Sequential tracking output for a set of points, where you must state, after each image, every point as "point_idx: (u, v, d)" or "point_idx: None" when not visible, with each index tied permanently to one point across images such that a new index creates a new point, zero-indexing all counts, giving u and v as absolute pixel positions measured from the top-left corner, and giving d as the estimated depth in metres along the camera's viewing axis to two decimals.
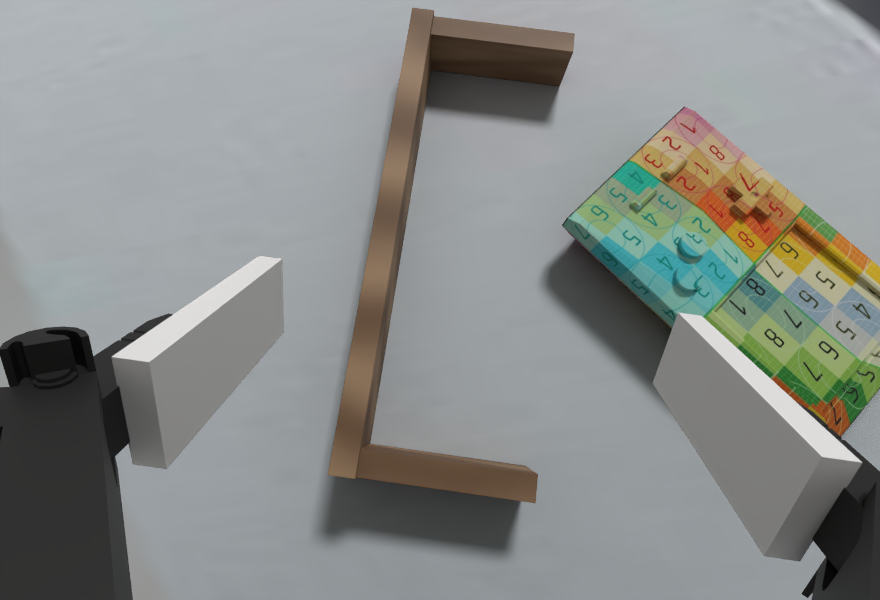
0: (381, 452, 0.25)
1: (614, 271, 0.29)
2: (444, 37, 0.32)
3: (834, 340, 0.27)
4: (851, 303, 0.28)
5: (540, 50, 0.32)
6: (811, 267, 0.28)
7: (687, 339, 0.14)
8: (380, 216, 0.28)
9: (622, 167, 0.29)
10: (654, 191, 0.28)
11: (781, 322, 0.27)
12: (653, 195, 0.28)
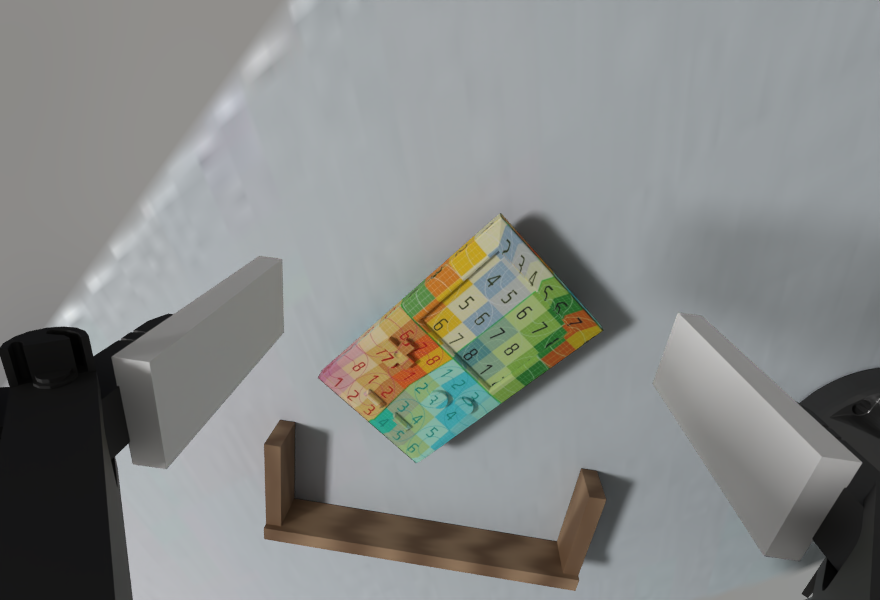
0: (565, 564, 0.44)
1: None
2: (281, 517, 0.44)
3: (517, 307, 0.34)
4: (486, 287, 0.33)
5: (281, 463, 0.42)
6: (455, 311, 0.34)
7: (687, 339, 0.14)
8: (420, 562, 0.44)
9: (374, 426, 0.39)
10: (396, 417, 0.38)
11: (499, 342, 0.35)
12: (398, 416, 0.38)
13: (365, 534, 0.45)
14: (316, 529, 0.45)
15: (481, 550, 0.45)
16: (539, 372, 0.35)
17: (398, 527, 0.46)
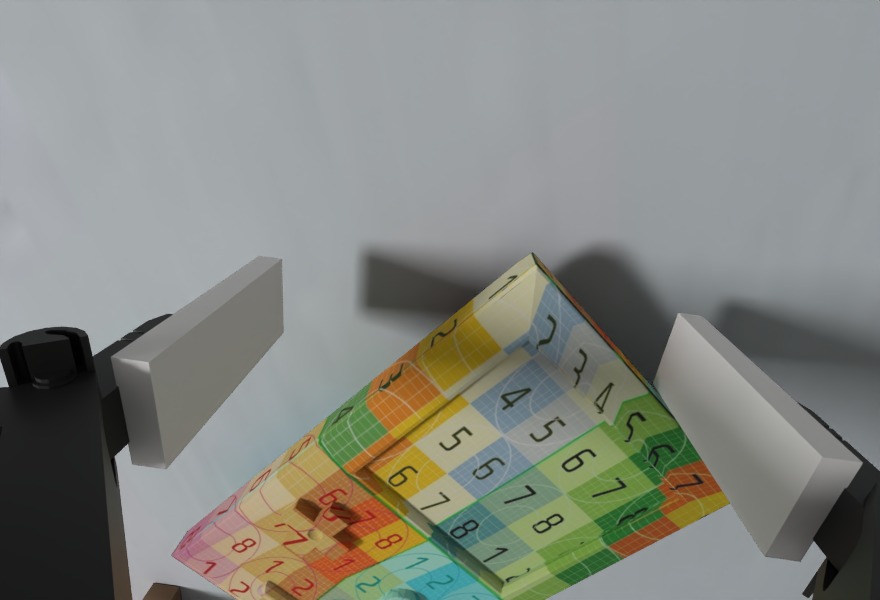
0: None
1: None
2: None
3: (563, 450, 0.16)
4: (500, 410, 0.15)
5: None
6: (432, 453, 0.16)
7: (687, 339, 0.14)
8: None
9: None
10: None
11: (524, 510, 0.17)
12: None
13: None
14: None
15: None
16: (602, 565, 0.18)
17: None
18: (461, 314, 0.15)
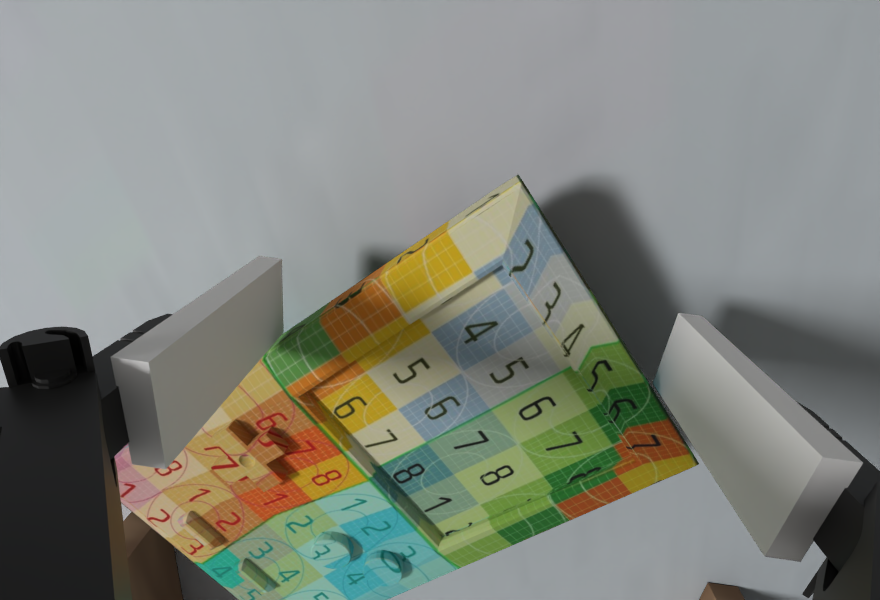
0: None
1: None
2: None
3: (523, 395, 0.15)
4: (462, 343, 0.14)
5: None
6: (385, 384, 0.15)
7: (687, 339, 0.14)
8: None
9: (206, 572, 0.20)
10: (243, 570, 0.18)
11: (474, 458, 0.16)
12: (249, 566, 0.19)
13: None
14: None
15: None
16: (547, 525, 0.17)
17: None
18: (434, 234, 0.14)
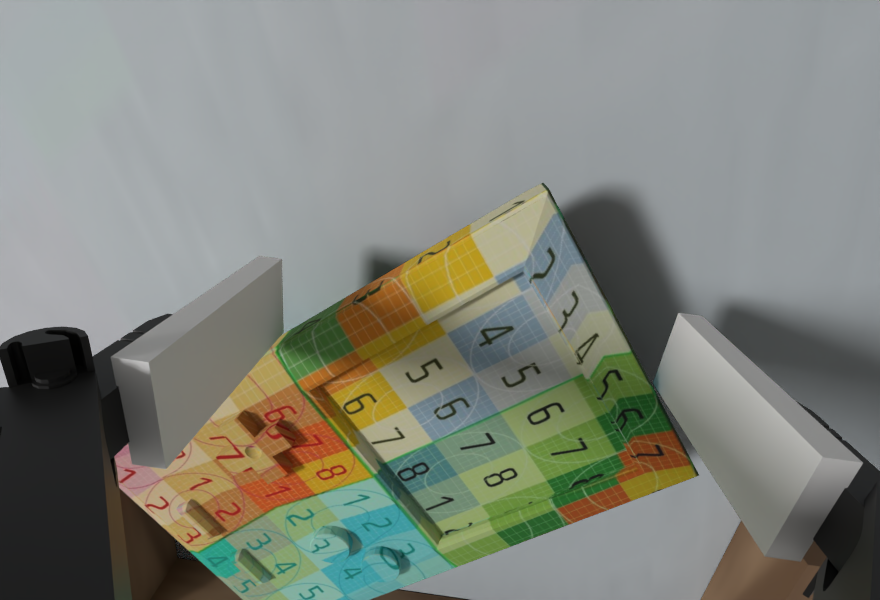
0: None
1: None
2: None
3: (532, 400, 0.15)
4: (476, 346, 0.14)
5: None
6: (396, 383, 0.15)
7: (687, 339, 0.14)
8: None
9: (200, 561, 0.20)
10: (240, 561, 0.18)
11: (479, 460, 0.16)
12: (246, 557, 0.19)
13: None
14: None
15: None
16: (546, 529, 0.17)
17: None
18: (456, 236, 0.14)
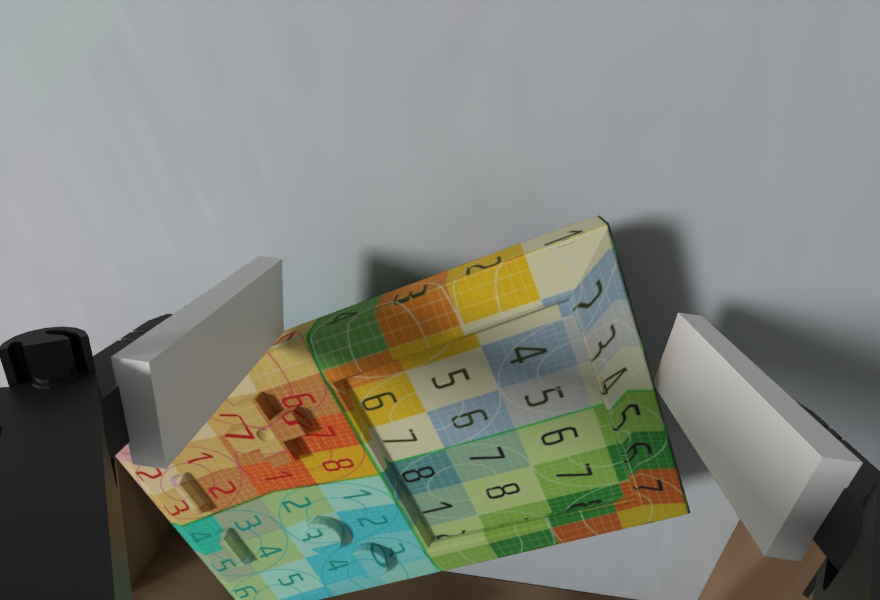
0: None
1: None
2: None
3: (550, 422, 0.15)
4: (507, 362, 0.15)
5: None
6: (420, 386, 0.15)
7: (687, 339, 0.14)
8: None
9: (181, 534, 0.19)
10: (225, 540, 0.18)
11: (485, 471, 0.17)
12: (232, 537, 0.18)
13: None
14: None
15: None
16: (536, 545, 0.18)
17: (375, 589, 0.23)
18: (506, 253, 0.14)
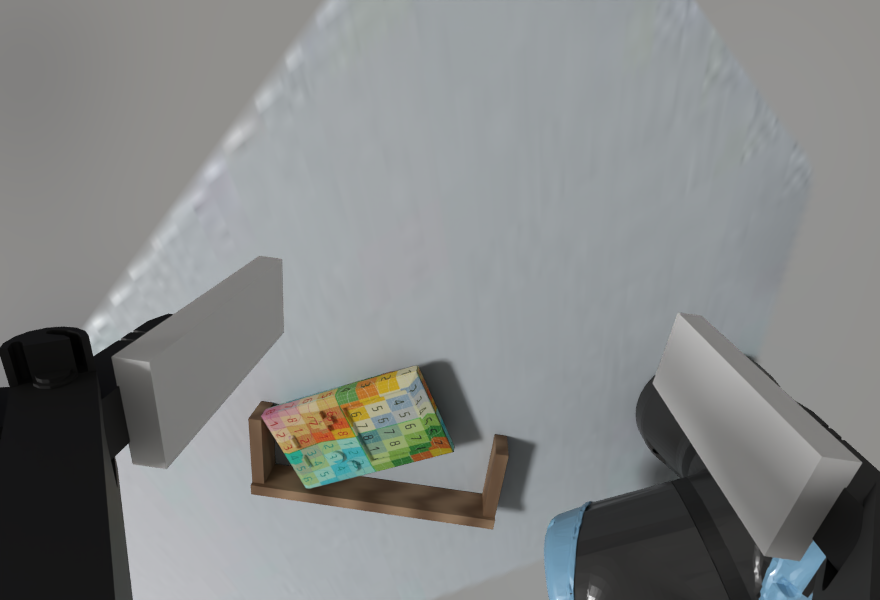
0: (484, 508, 0.56)
1: None
2: (264, 477, 0.57)
3: (407, 422, 0.52)
4: (393, 404, 0.51)
5: (262, 434, 0.54)
6: (368, 410, 0.52)
7: (687, 339, 0.14)
8: (373, 509, 0.57)
9: (287, 457, 0.55)
10: (304, 458, 0.54)
11: (389, 437, 0.53)
12: (306, 457, 0.54)
13: (330, 489, 0.58)
14: (291, 486, 0.57)
15: (420, 500, 0.58)
16: (406, 462, 0.54)
17: (356, 484, 0.59)
18: (392, 374, 0.50)
